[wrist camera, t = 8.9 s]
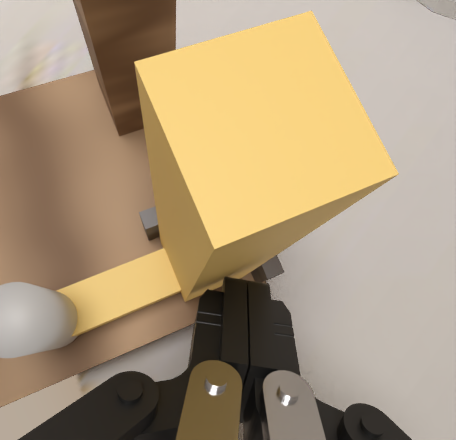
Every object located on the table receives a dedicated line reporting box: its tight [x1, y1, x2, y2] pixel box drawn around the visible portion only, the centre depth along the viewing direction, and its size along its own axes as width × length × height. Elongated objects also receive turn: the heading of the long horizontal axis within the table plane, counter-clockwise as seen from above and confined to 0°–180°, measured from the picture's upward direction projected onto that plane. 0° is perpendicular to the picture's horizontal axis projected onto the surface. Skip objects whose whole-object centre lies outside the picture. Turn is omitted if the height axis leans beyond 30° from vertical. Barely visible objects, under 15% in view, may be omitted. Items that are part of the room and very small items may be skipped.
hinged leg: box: [0, 11, 398, 358], centre depth 12 cm, size 10×3×14 cm, turn 113°
